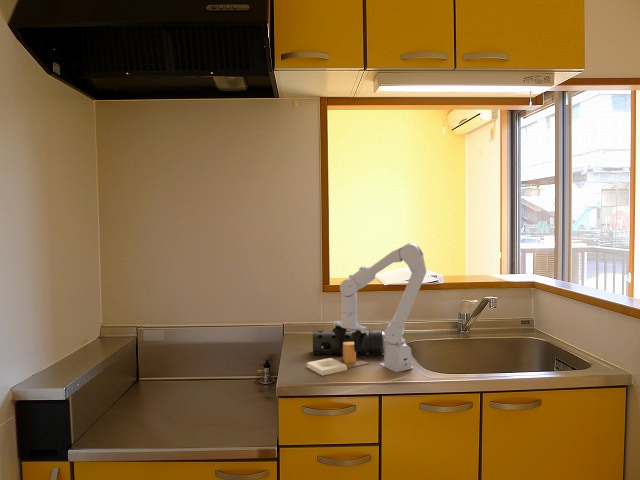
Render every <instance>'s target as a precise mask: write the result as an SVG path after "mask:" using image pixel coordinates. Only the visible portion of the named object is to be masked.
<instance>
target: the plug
mask: <svg viewBox="0 0 640 480" xmlns="http://www.w3.org/2000/svg"><path fill="white" fill-rule="evenodd" d="M342 356H343V361H344V362H345V363H355V362H356V358H357V355H356V352H355V349H354V342H343V355H342Z"/></svg>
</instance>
